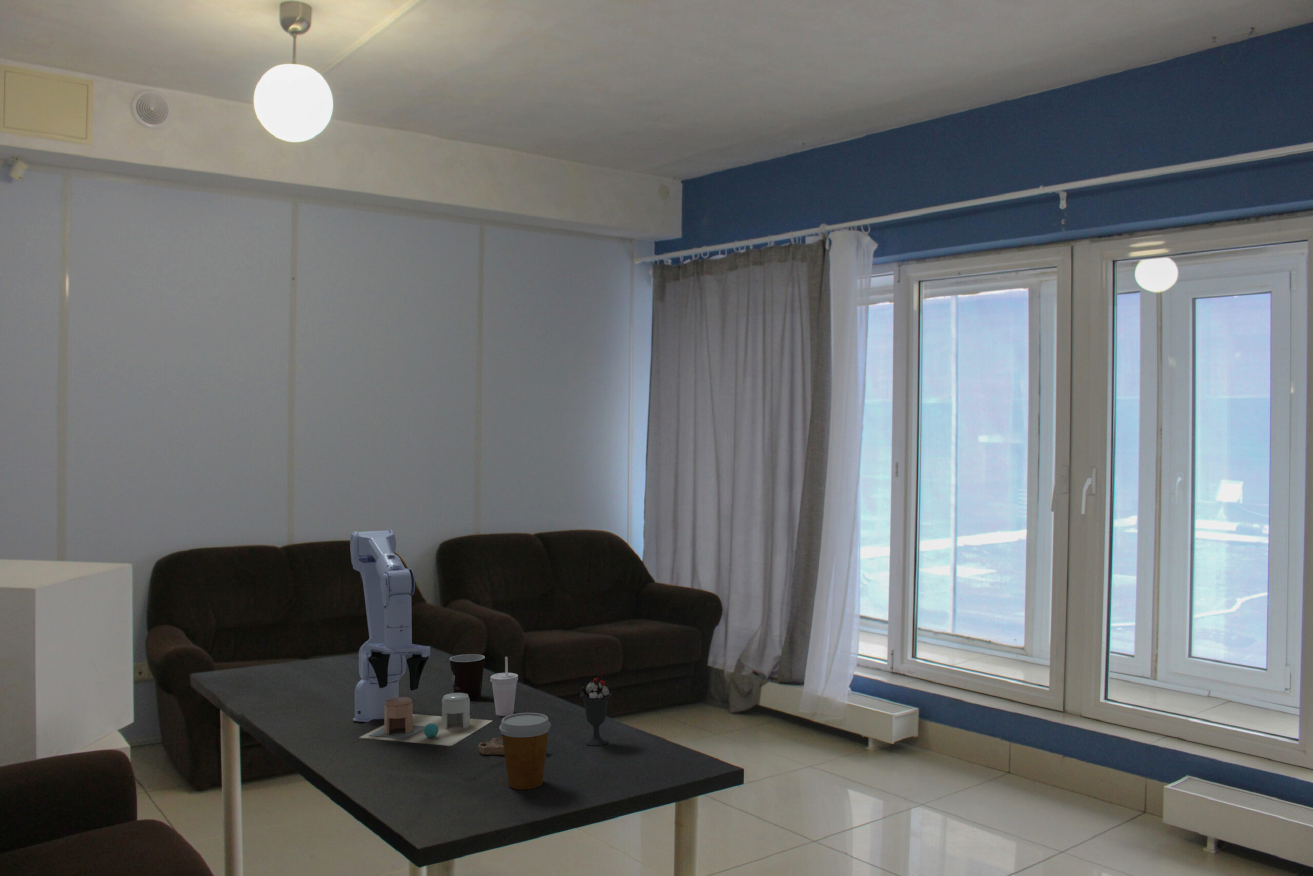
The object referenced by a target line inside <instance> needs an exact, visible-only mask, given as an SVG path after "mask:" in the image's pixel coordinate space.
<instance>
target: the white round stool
mask: <svg viewBox="0 0 1313 876" xmlns="http://www.w3.org/2000/svg"><path fill="white" fill-rule="evenodd" d="M470 702H471V701H470V698H469V697H468V694H466V693H454V692H452V693H447V694H444V695H443V696H442V699H441V716H442V727H443V728H444V729H447V725H448V724H452V723H463V728H466V727H468V726H470V719H471V714H470V711H471V707H470V706H471V703H470Z"/></svg>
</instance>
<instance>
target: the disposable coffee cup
mask: <svg viewBox="0 0 1313 876" xmlns="http://www.w3.org/2000/svg"><path fill="white" fill-rule="evenodd" d="M551 727H552V725H551V722H550V721H549V717H548V716H547V715H546V714H544V713H537V712H520V713H519V712H518V713H513V714H512V715H508V716H503V718H502V719H501V722H500V725H499V727H498V728H499V731H500V733H501V736H502V738H503V746H504V753H505V755H504V759H505V760H504V761H505V767H506V775H507V782H508V783H507V784H508V786H509V787H510V788H513V789H514V790H515V789H516V790H530V789H531V790H532V789H534V788H535V789H536V788H538V787H541V785H543V784H544V783H543V782H544V781H543V780H544V774H545V773H544V772H545V763H546V755H547V745H548V740H549V739H548V737H549V736H548V735H549V732H550V728H551Z"/></svg>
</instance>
